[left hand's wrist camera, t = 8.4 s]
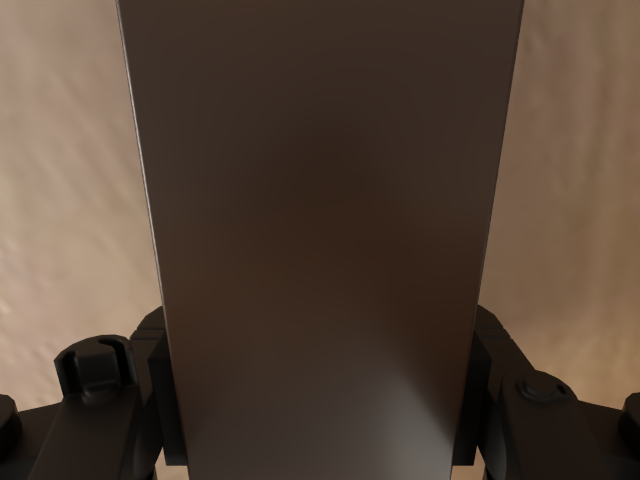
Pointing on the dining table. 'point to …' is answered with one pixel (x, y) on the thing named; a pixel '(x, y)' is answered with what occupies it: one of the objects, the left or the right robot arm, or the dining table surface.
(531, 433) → the left robot arm
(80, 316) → the dining table surface
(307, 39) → the beam
